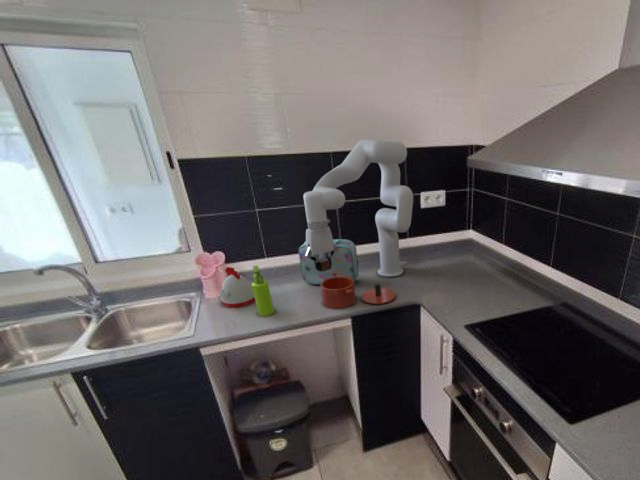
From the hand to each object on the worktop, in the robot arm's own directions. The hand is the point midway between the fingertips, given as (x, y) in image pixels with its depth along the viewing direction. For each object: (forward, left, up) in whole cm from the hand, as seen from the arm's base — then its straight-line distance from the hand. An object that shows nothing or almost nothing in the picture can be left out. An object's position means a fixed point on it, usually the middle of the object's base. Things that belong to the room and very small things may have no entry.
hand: (323, 268), depth 156 cm
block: (0, 0, 0) cm, 0 cm away
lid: (-17, +13, -14) cm, 26 cm away
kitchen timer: (+27, -28, -15) cm, 42 cm away
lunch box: (-12, -15, -15) cm, 25 cm away
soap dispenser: (+24, -8, -15) cm, 29 cm away
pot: (-3, +4, -15) cm, 16 cm away
